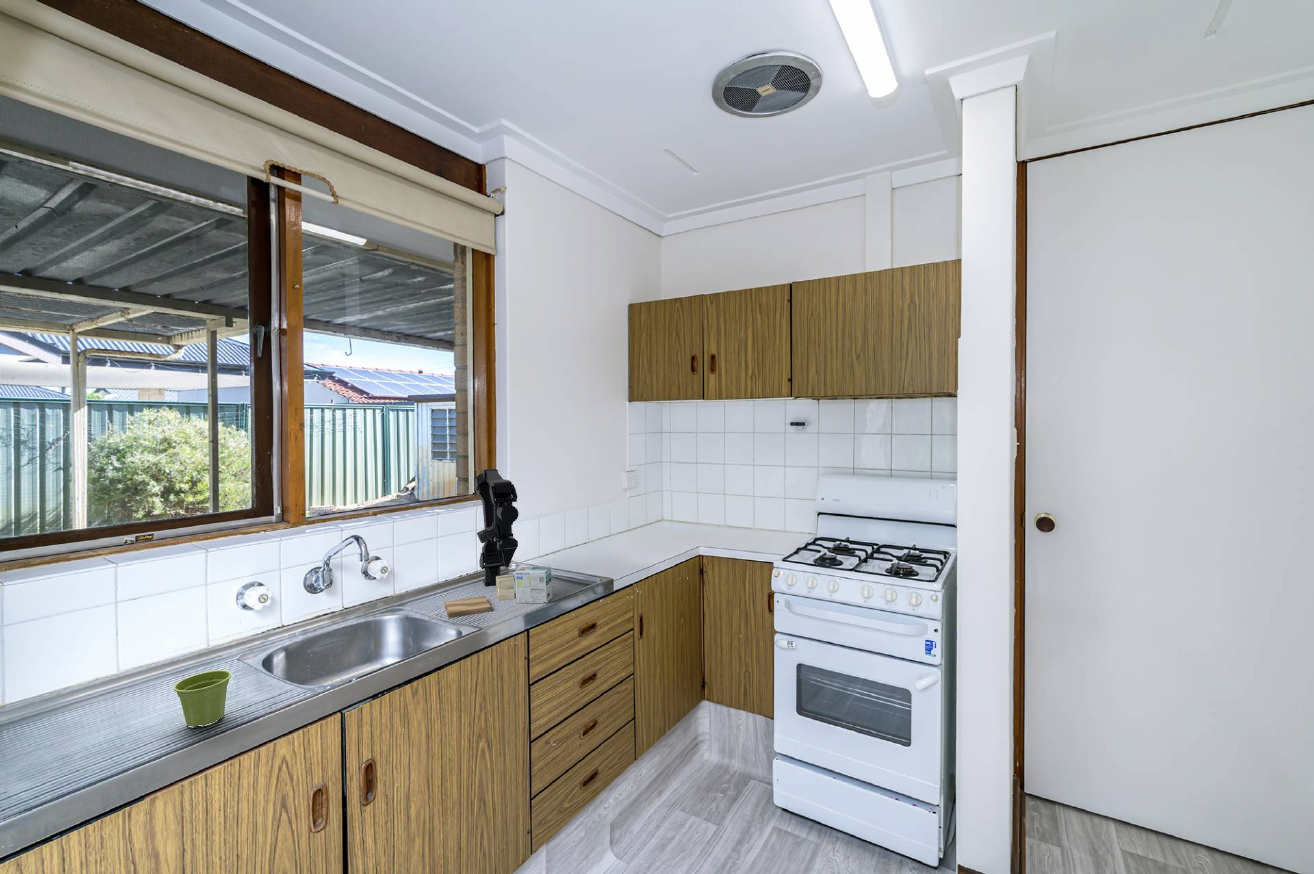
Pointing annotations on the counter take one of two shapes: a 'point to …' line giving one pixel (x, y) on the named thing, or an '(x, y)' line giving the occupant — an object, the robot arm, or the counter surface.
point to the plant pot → (203, 696)
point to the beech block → (505, 587)
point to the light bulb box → (533, 584)
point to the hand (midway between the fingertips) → (504, 564)
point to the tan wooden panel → (467, 606)
